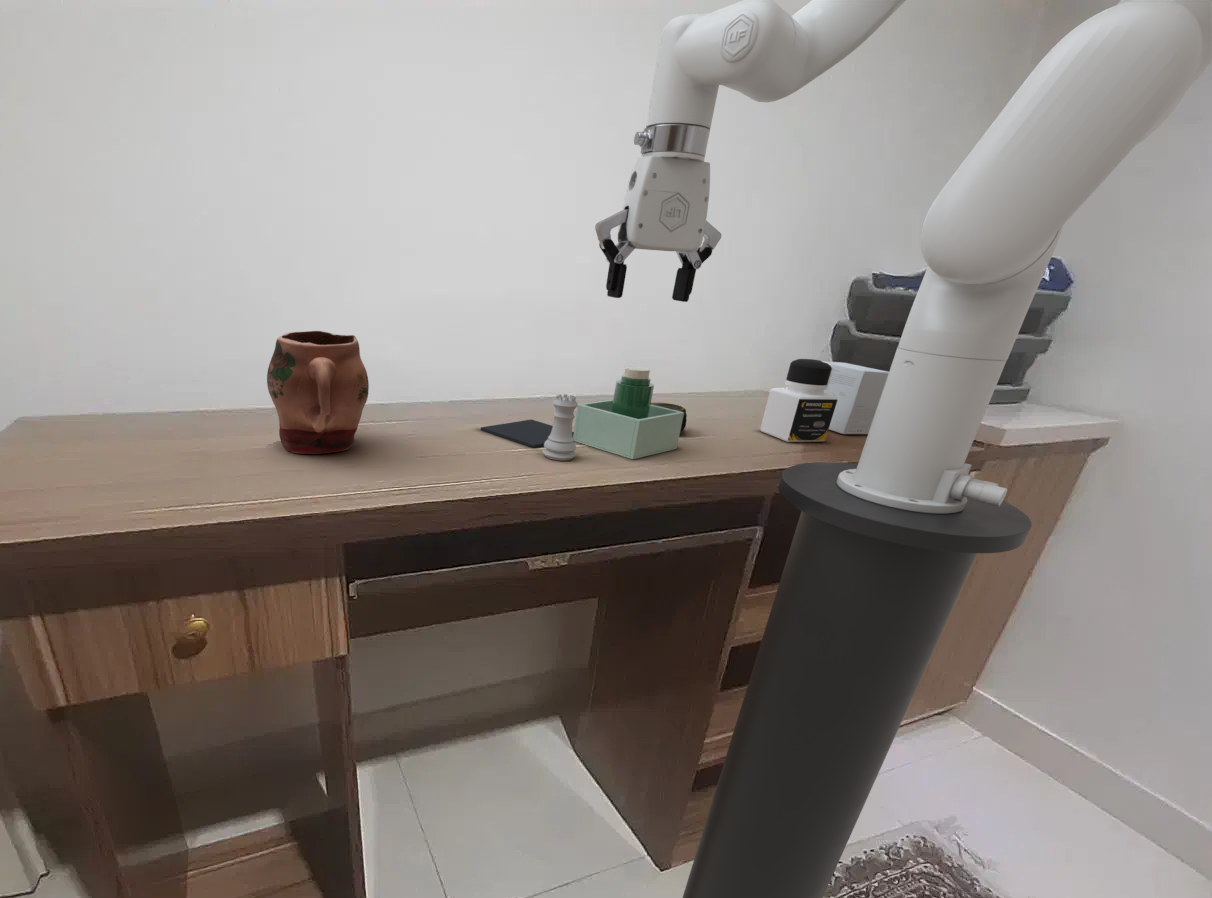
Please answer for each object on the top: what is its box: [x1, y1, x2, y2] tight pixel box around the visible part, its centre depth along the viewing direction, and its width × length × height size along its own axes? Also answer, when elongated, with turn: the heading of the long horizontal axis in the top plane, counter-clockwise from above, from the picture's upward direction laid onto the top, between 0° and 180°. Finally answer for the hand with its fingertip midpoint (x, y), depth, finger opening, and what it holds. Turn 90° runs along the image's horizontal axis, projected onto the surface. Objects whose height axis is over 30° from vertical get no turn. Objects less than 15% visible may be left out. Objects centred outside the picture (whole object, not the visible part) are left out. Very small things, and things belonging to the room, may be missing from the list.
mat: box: [480, 418, 574, 449], centre depth 96 cm, size 11×11×1 cm
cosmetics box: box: [824, 360, 889, 435], centre depth 111 cm, size 10×6×10 cm, turn 15°
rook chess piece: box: [542, 393, 579, 462], centre depth 85 cm, size 4×4×8 cm
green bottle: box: [611, 366, 655, 419], centre depth 92 cm, size 5×5×10 cm
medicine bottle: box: [759, 358, 838, 443], centre depth 102 cm, size 7×7×12 cm
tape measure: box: [651, 402, 688, 433], centre depth 103 cm, size 7×7×4 cm
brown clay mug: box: [266, 330, 370, 455], centre depth 80 cm, size 20×12×14 cm, turn 21°
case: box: [573, 398, 684, 460], centre depth 93 cm, size 11×11×5 cm
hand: (647, 298), depth 86 cm, fingers open, 9 cm apart
